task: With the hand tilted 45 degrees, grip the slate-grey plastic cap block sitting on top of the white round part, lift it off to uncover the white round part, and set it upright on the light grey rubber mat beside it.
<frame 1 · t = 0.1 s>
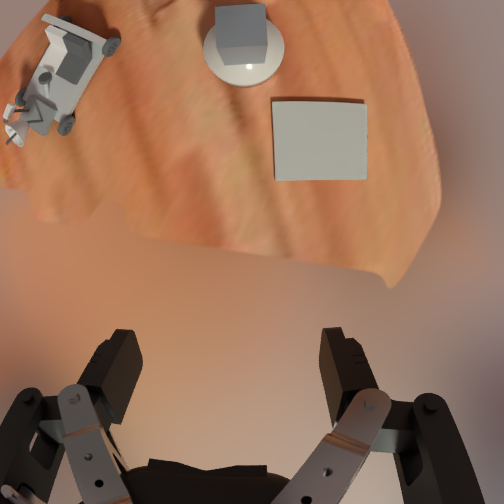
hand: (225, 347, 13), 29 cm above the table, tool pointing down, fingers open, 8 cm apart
rubber mat: (321, 140, 37), on the table
cap block: (243, 46, 29), point 4 cm above the table, touching white round part
toy car: (64, 81, 33), on the table
white round part: (244, 54, 32), on the table
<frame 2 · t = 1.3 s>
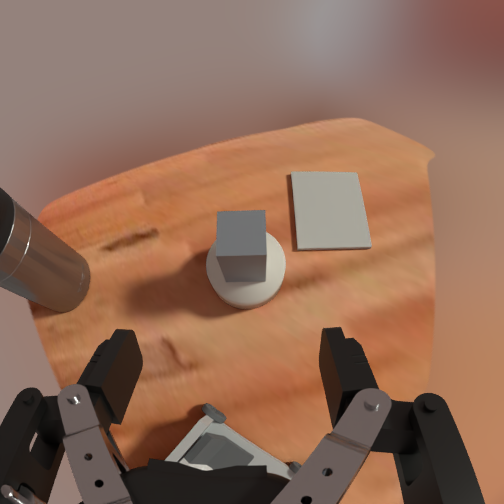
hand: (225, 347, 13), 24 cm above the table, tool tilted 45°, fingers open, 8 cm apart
rubber mat: (329, 209, 42), on the table
cap block: (245, 263, 35), point 4 cm above the table, touching white round part
toy car: (240, 477, 30), on the table
white round part: (247, 273, 39), on the table
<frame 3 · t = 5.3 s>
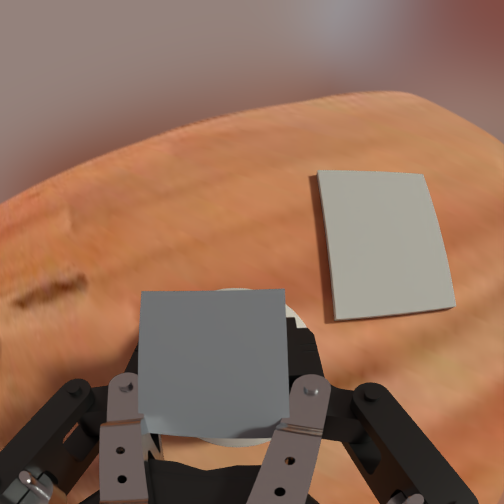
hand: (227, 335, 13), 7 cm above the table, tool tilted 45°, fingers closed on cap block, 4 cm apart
rubber mat: (387, 238, 23), on the table
cap block: (234, 368, 16), point 4 cm above the table, touching white round part, gripper
white round part: (239, 369, 19), on the table
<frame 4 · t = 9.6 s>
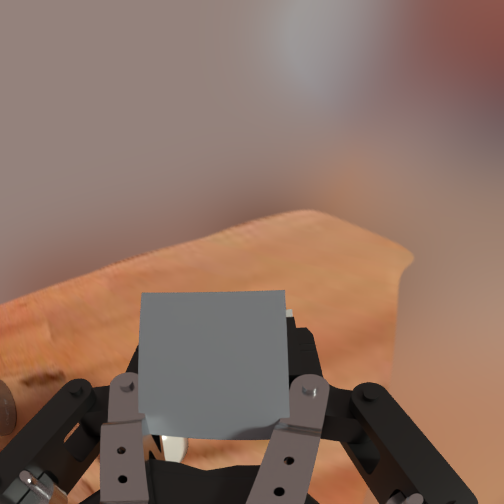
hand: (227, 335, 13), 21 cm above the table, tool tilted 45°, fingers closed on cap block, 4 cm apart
cap block: (234, 369, 16), point 18 cm above the table, touching gripper
white round part: (150, 437, 29), on the table
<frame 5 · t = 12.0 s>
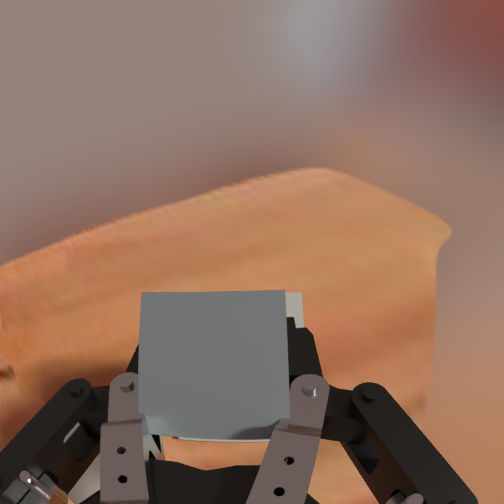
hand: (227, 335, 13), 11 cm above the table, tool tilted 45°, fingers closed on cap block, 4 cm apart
rubber mat: (241, 368, 23), on the table
cap block: (234, 368, 16), point 8 cm above the table, touching gripper
white round part: (111, 458, 20), on the table
when the fingers open (5 cm above the table, at t = 13.9 s): cap block drops 1 cm, resting on rubber mat.
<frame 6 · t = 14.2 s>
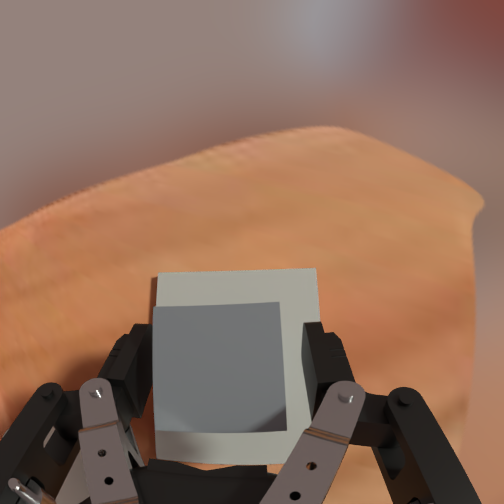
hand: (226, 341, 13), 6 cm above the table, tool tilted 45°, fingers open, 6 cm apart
rubber mat: (237, 368, 18), on the table
cap block: (236, 370, 17), point 1 cm above the table, touching rubber mat
white round part: (77, 476, 15), on the table
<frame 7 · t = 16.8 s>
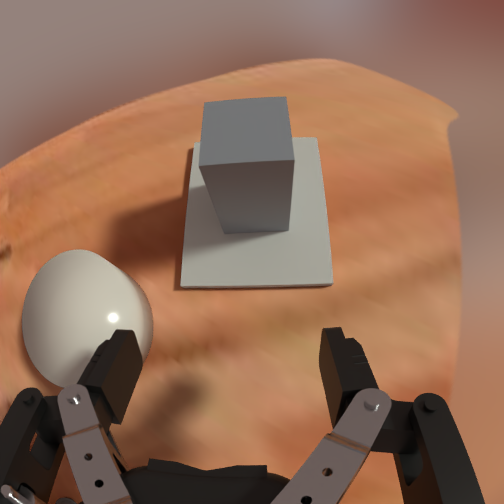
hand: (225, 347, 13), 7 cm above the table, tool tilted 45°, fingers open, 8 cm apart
rubber mat: (256, 206, 23), on the table
cap block: (255, 203, 22), point 1 cm above the table, touching rubber mat
white round part: (98, 326, 20), on the table
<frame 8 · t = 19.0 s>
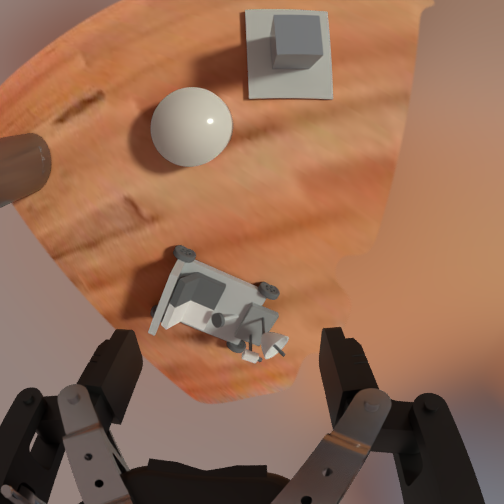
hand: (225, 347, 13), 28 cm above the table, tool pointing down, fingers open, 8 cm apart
rubber mat: (289, 52, 31), on the table
cap block: (289, 52, 31), point 1 cm above the table, touching rubber mat
toy car: (221, 300, 45), on the table
white round part: (196, 126, 35), on the table
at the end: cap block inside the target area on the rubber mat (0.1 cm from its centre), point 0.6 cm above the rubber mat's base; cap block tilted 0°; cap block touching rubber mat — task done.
